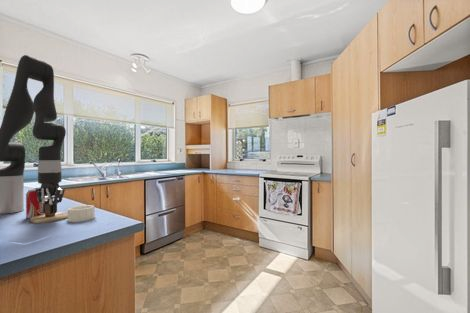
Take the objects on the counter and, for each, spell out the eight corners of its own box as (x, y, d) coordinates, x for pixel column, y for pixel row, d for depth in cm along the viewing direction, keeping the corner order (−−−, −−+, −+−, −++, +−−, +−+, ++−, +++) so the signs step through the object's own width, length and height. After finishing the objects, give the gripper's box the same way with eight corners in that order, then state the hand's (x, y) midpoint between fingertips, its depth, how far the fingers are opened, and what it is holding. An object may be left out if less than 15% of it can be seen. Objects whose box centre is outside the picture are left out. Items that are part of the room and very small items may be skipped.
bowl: (62, 221, 90) (62, 209, 90) (83, 215, 99) (83, 204, 99) (79, 223, 87) (79, 210, 87) (99, 217, 96) (99, 205, 96)
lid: (22, 221, 89) (22, 206, 89) (55, 214, 100) (54, 200, 100) (44, 224, 85) (44, 208, 85) (75, 216, 97) (75, 201, 97)
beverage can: (34, 219, 93) (33, 191, 93) (22, 219, 94) (21, 190, 94) (49, 216, 99) (49, 188, 99) (37, 215, 100) (37, 188, 100)
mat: (20, 223, 88) (20, 222, 88) (55, 214, 101) (55, 214, 101) (44, 225, 85) (44, 224, 85) (77, 216, 97) (77, 216, 97)
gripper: (27, 171, 91) (27, 214, 91) (52, 172, 87) (52, 216, 87) (47, 170, 98) (47, 209, 98) (71, 170, 94) (71, 211, 94)
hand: (50, 212), depth 93 cm, fingers closed on lid, 3 cm apart
